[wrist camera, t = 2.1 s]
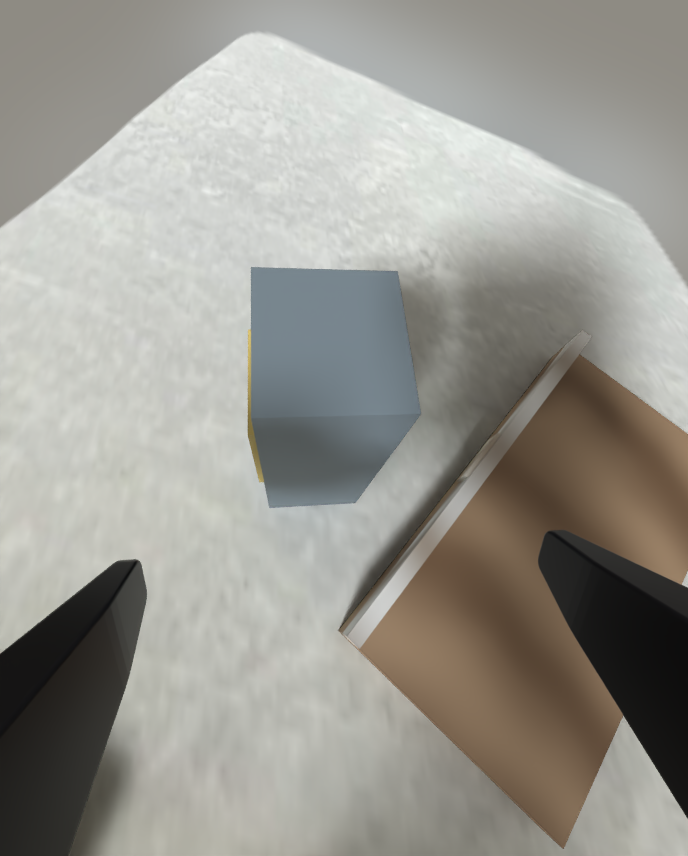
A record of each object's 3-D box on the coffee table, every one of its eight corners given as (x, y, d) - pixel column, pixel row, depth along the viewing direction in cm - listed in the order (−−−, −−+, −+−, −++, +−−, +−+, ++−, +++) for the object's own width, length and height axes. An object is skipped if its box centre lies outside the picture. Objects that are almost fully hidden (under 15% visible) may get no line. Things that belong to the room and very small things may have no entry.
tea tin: (347, 418, 24) (397, 271, 13) (355, 503, 22) (421, 414, 11) (262, 420, 23) (241, 267, 12) (263, 508, 22) (238, 418, 11)
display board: (542, 829, 18) (589, 874, 15) (335, 627, 20) (343, 633, 17) (709, 474, 26) (762, 459, 23) (549, 355, 28) (579, 327, 25)
